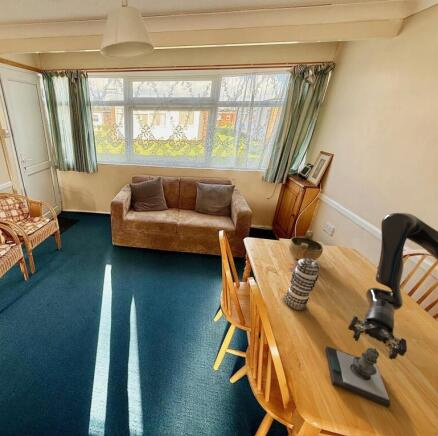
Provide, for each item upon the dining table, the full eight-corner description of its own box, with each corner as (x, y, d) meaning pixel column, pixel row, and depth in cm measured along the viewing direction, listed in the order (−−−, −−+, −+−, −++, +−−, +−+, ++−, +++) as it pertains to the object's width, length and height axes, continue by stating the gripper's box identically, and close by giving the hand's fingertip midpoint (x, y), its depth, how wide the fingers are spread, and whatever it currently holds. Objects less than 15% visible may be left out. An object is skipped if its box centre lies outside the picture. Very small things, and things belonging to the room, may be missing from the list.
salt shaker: (369, 385, 73) (385, 361, 67) (346, 370, 77) (360, 346, 72) (374, 374, 76) (390, 350, 71) (352, 359, 80) (366, 336, 75)
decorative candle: (309, 314, 103) (327, 269, 92) (287, 311, 104) (302, 267, 93) (300, 299, 111) (316, 256, 100) (280, 296, 112) (294, 254, 102)
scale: (371, 368, 81) (376, 362, 79) (386, 409, 70) (392, 403, 68) (324, 351, 87) (327, 344, 85) (330, 386, 76) (334, 380, 74)
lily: (281, 276, 127) (291, 269, 120) (285, 260, 134) (295, 252, 126) (303, 287, 124) (315, 281, 117) (306, 270, 131) (318, 263, 123)
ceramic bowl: (290, 246, 154) (296, 226, 148) (320, 255, 144) (328, 234, 138) (281, 260, 139) (288, 239, 133) (315, 272, 129) (323, 250, 123)
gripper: (358, 302, 88) (350, 326, 78) (411, 325, 79) (410, 356, 69) (351, 316, 91) (342, 341, 81) (401, 339, 82) (398, 371, 72)
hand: (373, 347), depth 75 cm, fingers open, 8 cm apart
